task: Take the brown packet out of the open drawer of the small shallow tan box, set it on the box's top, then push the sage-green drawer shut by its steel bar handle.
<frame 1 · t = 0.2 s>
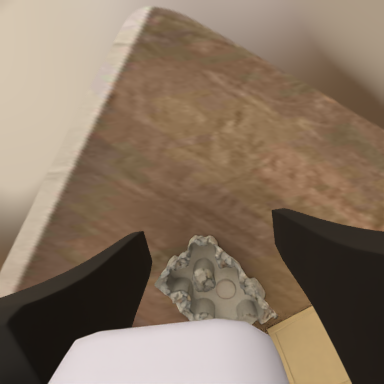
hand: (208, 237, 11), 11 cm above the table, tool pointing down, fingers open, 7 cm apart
egg carton: (213, 278, 23), on the table
shallow tan box: (358, 351, 22), on the table
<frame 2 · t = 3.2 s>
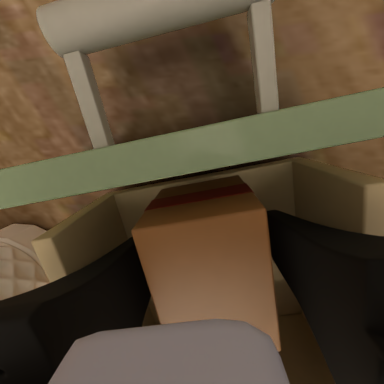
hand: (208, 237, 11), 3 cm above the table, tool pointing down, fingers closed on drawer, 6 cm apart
white cup: (35, 260, 16), on the table
packet: (208, 230, 12), point 2 cm above the table, touching drawer
drawer: (205, 228, 10), point 4 cm above the table, slide at 9.0 cm, touching gripper, packet
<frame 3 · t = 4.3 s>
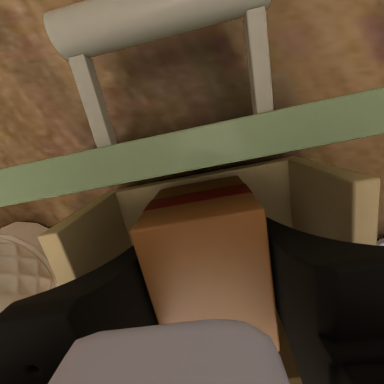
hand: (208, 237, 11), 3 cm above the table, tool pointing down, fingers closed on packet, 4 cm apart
white cup: (38, 257, 16), on the table
packet: (207, 230, 12), point 2 cm above the table, touching gripper
drawer: (203, 224, 10), point 4 cm above the table, slide at 9.0 cm
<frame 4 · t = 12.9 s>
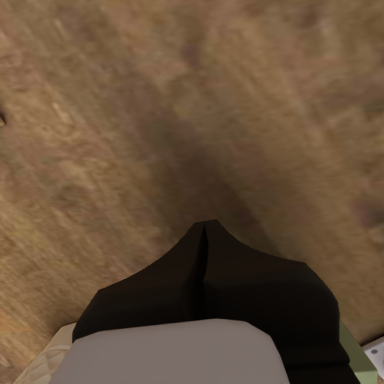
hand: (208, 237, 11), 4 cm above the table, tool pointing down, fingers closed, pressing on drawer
white cup: (88, 345, 20), on the table
drawer: (235, 372, 14), point 4 cm above the table, slide at 8.0 cm, touching gripper
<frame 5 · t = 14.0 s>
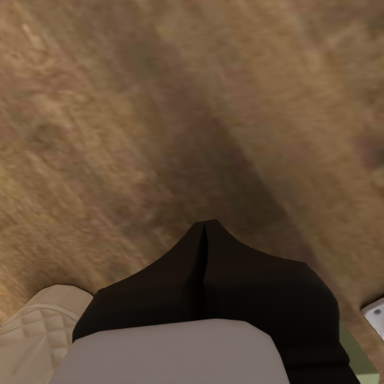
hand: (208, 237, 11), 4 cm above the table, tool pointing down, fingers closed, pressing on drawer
white cup: (71, 311, 18), on the table
drawer: (235, 373, 14), point 4 cm above the table, slide at 3.6 cm, touching gripper
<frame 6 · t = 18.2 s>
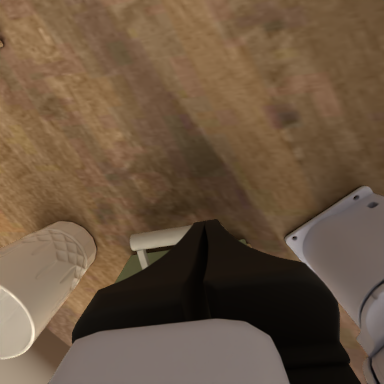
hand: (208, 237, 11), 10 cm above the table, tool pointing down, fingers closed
white cup: (70, 245, 24), on the table
drawer: (192, 302, 20), point 4 cm above the table, slide at 0.0 cm, touching shallow tan box
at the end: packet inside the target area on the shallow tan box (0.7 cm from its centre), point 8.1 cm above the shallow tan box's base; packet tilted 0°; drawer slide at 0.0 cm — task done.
